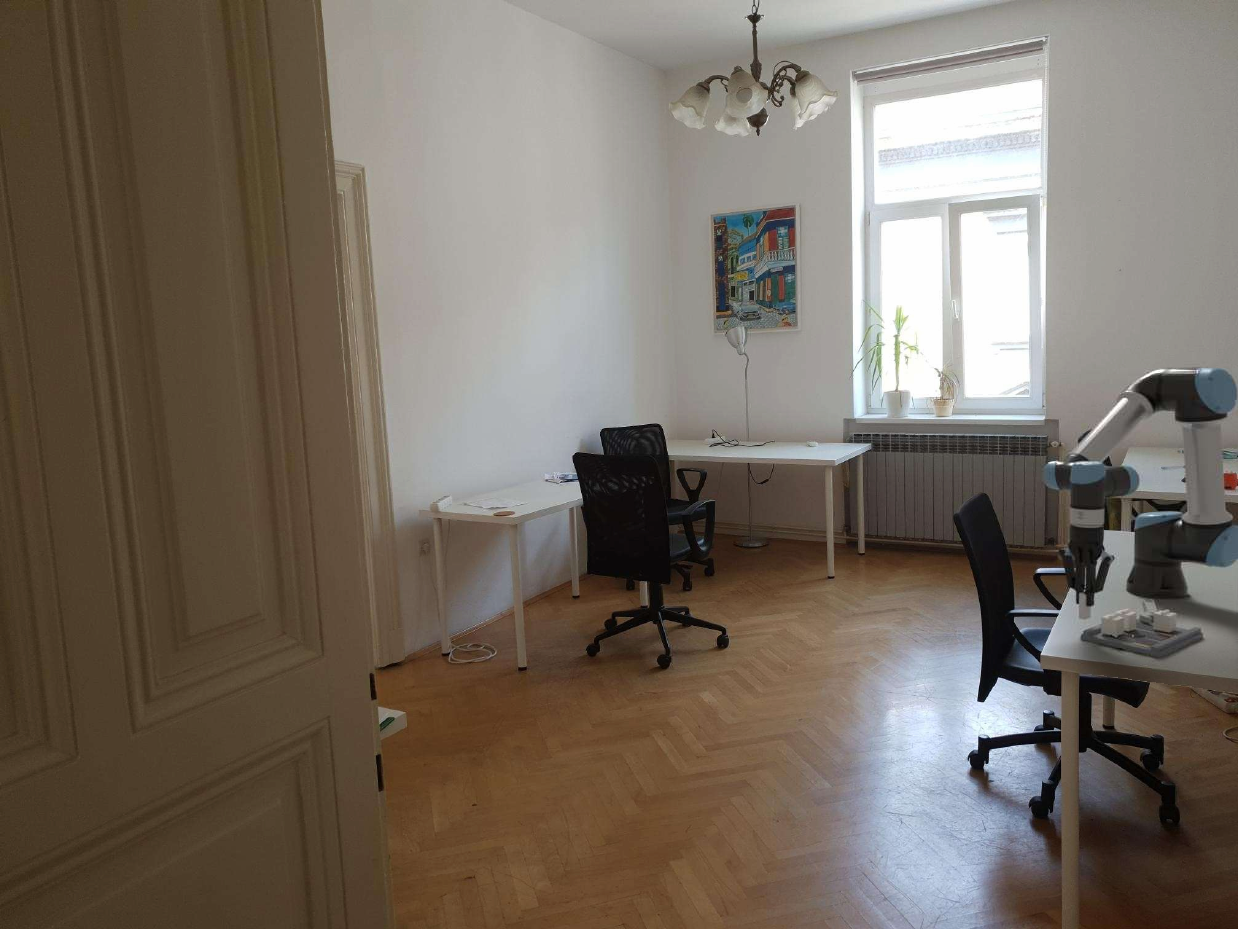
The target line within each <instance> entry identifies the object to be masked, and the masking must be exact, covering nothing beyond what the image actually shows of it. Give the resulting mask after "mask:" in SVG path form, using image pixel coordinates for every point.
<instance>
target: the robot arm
mask: <svg viewBox="0 0 1238 929" xmlns="http://www.w3.org/2000/svg"><path fill="white" fill-rule="evenodd" d="M1236 401H1238V388H1237V384H1236V381H1235V379H1234V377H1233V376H1232V375H1231V374H1230V373H1229V372H1228V371H1227V370H1225V369H1223V368H1218V367H1208V366H1205V367H1204V366H1201V367H1198V366H1197V367H1163V368H1159V369H1155V370H1153V371H1150V372H1147V373H1146V374H1144V375H1143V376H1141V377H1139V378H1138V379H1136V380H1134V381H1133V382H1132V383H1130V384H1129V385H1128V386H1127V387H1125V389H1123V391H1121V393H1120V394H1119V395H1118V396H1117V398H1116V404H1115V405H1114V406H1112V408H1111V409H1110V410H1109V411H1108V412H1107V413H1105V415H1104V416H1103V417H1102V418H1101V420H1100V421H1099V422H1098V423H1097V424H1096V425H1095V426H1093V428H1092V429H1091V430H1090V432H1088V433H1087V434H1086V435H1085V437H1083V439H1082V440H1081V441H1079V443H1078V444H1077V445H1076V446H1075V447H1074V448H1073V449H1072V451H1071V452H1069V453H1068V455H1067V456H1066V457H1065V458H1064V459H1063V460H1053V461H1050V462H1048V463H1046V465H1045V466H1044V468H1043V470H1042V471H1043V472H1042V479H1043V482H1044V484H1045V485H1046V487H1047V488H1050V489H1054V490H1056V491H1060V492H1062V491H1063V492H1070V503H1069V522H1070V525H1069V536H1068V538H1069V542H1068V544H1067V546H1065V547H1064V548H1061V549H1058V554H1059V556H1060V557H1061V560H1062V563H1063V568H1064V574H1065V579H1066V583H1067V587H1068V588H1069V589H1073V590H1074V591H1075V604H1076V605H1078V620H1084V621H1085V620H1088V619H1091V607H1093V606H1095V594H1097V593H1100V592H1103V591H1104V587H1105V584H1106V580H1107V576H1108V574H1109V571H1110V566H1111V564H1112V563H1113V561H1115V559H1116V557H1115V556H1114V555H1113V554H1112V555H1110V553H1108V552H1106V548H1105V546H1104V539H1105V538H1104V537H1105V527H1104V526H1103V525H1104V524H1105V499H1110V498H1118V497H1126V496H1128V495H1131V494H1133V493H1135V492H1136V491H1137V490H1138V488H1139V486H1140V483H1141V482H1140V480H1141V479H1140V475H1139V473H1138V472H1137V470H1136V469H1134V467H1132V466H1129V465H1115V466H1113V465H1112V466H1110V465H1106V464H1105V463H1104V461H1105V460H1106V459H1107V458H1108V457H1109V456H1110V455H1111V454H1112V452H1114V451H1115V450H1116V449H1117V447H1119V446H1120V444H1121V443H1122V442H1123V441H1124V440H1125V439H1126V438H1127V436H1128V435H1130V433H1131V432H1132V431H1133V430H1134V429H1135V428H1136V427H1137V426H1138V425H1139V424H1140V422H1142V421H1145V420H1148V419H1149V418H1151V417H1152V416H1153V415H1154V414H1155V413H1158V412H1174V421H1175V422H1176V423H1177V424H1179V425H1181V427H1182V431H1181V432H1182V444H1183V446H1182V447H1183V458H1184V459H1183V461H1184V476H1185V491H1186V507H1187V511H1186V512H1185V513H1183V512H1180V511H1172V510H1169V511H1154V512H1153V511H1152V512H1150V511H1149V512H1145V513H1140V514H1138V515H1137V516H1136V517H1135V522H1134V528H1133V531H1134V544H1133V550H1134V551H1133V552H1134V553H1133V565H1132V567H1131V570H1130V573H1129V575H1128V577H1127V579H1126V582H1125V584H1126V586H1125V590H1126V591H1127V592H1129V593H1131V594H1134V595H1137V596H1142V597H1149V598H1156V599H1179V598H1184V597H1187V596H1188V594H1189V593H1188V592H1189V586H1188V584H1187V580H1186V578H1185V574H1184V572H1183V569H1182V562H1188V563H1192V564H1198V565H1203V566H1207V567H1210V568H1211V567H1216V568H1228V567H1230V566H1232V565H1233V564H1235V562H1237V560H1238V525H1235V524H1234V517H1233V514H1231V513H1230V512H1228V511H1227V510H1226V496H1225V492H1226V491H1225V479H1224V478H1225V476H1224V475H1225V474H1224V460H1223V457H1224V456H1223V443H1222V442H1223V441H1222V440H1223V439H1222V424H1223V422H1224V421H1225V420H1226V419H1227V418H1228V413H1230V412H1231V411H1232V410H1233V409H1234V408H1235V407H1236V404H1237V403H1236ZM1072 556H1073V557H1072ZM1073 558H1074V560H1073ZM1098 560H1100V561H1101V562H1100V564H1099V567H1098V570H1097V565H1098Z"/></svg>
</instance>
